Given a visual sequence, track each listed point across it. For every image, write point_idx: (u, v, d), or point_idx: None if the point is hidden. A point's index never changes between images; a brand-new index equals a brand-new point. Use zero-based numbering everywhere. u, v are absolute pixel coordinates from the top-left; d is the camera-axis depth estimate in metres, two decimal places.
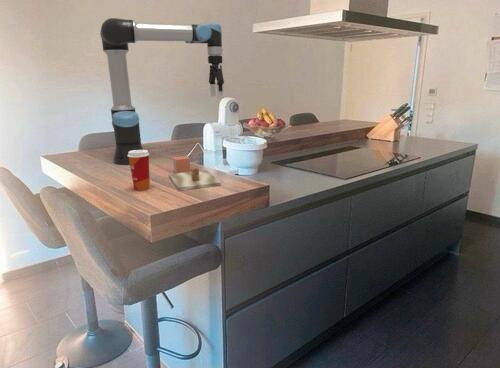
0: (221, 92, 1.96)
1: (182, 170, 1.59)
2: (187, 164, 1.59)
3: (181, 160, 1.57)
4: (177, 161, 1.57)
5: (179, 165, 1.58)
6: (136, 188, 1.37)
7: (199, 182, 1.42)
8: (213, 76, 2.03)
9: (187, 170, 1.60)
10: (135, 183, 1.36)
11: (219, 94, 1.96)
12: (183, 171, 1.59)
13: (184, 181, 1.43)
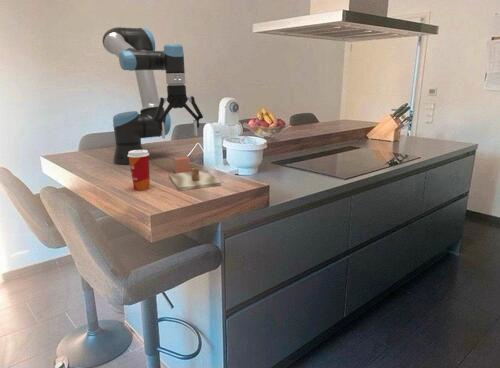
0: (162, 131, 1.53)
1: (182, 170, 1.59)
2: (187, 164, 1.59)
3: (181, 160, 1.57)
4: (177, 161, 1.57)
5: (179, 165, 1.58)
6: (136, 188, 1.37)
7: (199, 182, 1.42)
8: (187, 110, 1.56)
9: (187, 170, 1.60)
10: (135, 183, 1.36)
11: (162, 133, 1.55)
12: (183, 171, 1.59)
13: (184, 181, 1.43)
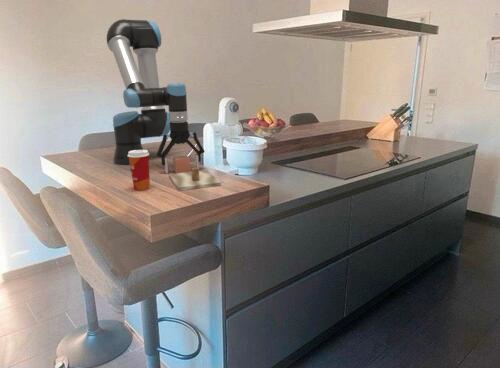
0: (165, 166, 1.58)
1: (182, 170, 1.59)
2: (187, 164, 1.59)
3: (181, 160, 1.57)
4: (177, 161, 1.57)
5: (179, 165, 1.58)
6: (136, 188, 1.37)
7: (199, 182, 1.42)
8: (189, 145, 1.60)
9: (187, 170, 1.60)
10: (135, 183, 1.36)
11: (165, 168, 1.59)
12: (183, 171, 1.59)
13: (184, 181, 1.43)
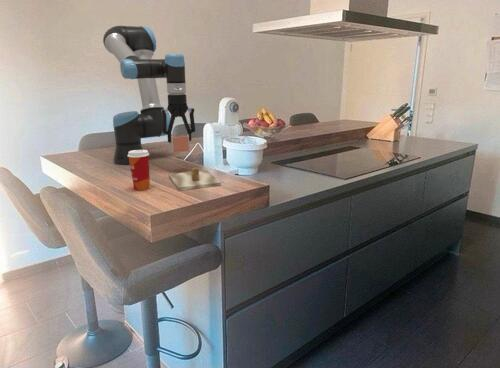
0: (171, 144, 1.57)
1: (180, 149, 1.56)
2: (185, 142, 1.56)
3: (179, 138, 1.55)
4: (175, 139, 1.54)
5: (177, 143, 1.55)
6: (136, 188, 1.37)
7: (199, 182, 1.42)
8: (183, 121, 1.57)
9: (185, 149, 1.57)
10: (135, 183, 1.36)
11: (171, 145, 1.58)
12: (181, 150, 1.57)
13: (184, 181, 1.43)
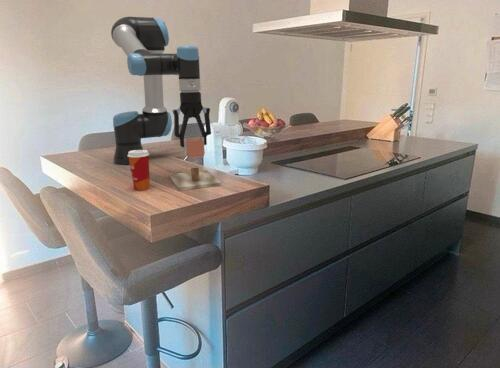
0: (184, 148, 1.38)
1: (194, 153, 1.38)
2: (200, 146, 1.38)
3: (193, 142, 1.36)
4: (189, 143, 1.36)
5: (191, 147, 1.37)
6: (136, 188, 1.37)
7: (199, 182, 1.42)
8: (197, 122, 1.39)
9: (200, 153, 1.39)
10: (135, 183, 1.36)
11: (183, 150, 1.40)
12: (196, 155, 1.38)
13: (184, 181, 1.43)
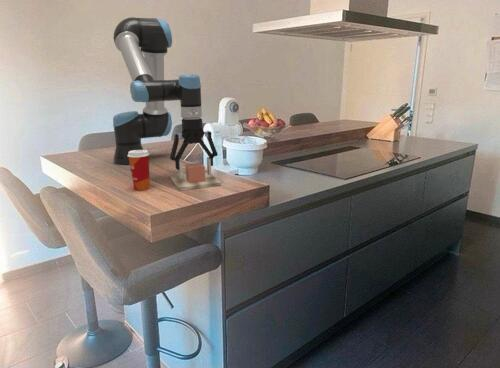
0: (179, 171, 1.40)
1: (196, 179, 1.41)
2: (201, 172, 1.41)
3: (195, 168, 1.39)
4: (190, 169, 1.39)
5: (193, 173, 1.40)
6: (136, 188, 1.37)
7: (199, 182, 1.42)
8: (202, 146, 1.42)
9: (201, 179, 1.42)
10: (135, 183, 1.36)
11: (179, 173, 1.41)
12: (197, 180, 1.41)
13: (184, 181, 1.43)
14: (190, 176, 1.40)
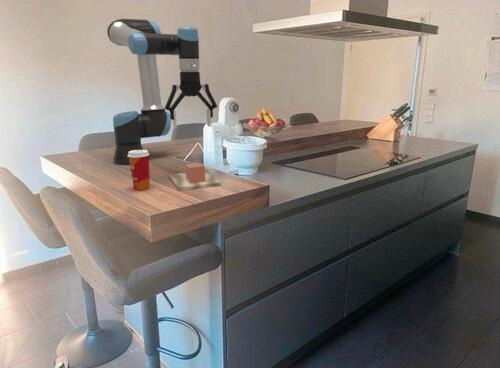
0: (174, 121, 1.44)
1: (196, 179, 1.41)
2: (201, 172, 1.41)
3: (195, 168, 1.39)
4: (190, 169, 1.39)
5: (193, 173, 1.40)
6: (136, 188, 1.37)
7: (199, 182, 1.42)
8: (201, 99, 1.46)
9: (201, 179, 1.42)
10: (135, 183, 1.36)
11: (173, 123, 1.46)
12: (197, 180, 1.41)
13: (184, 181, 1.43)
14: (190, 176, 1.40)
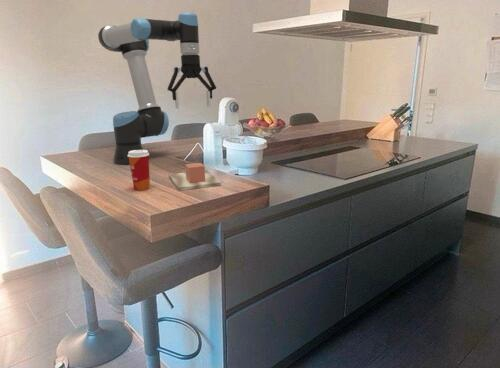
0: (176, 101, 1.54)
1: (196, 179, 1.41)
2: (201, 172, 1.41)
3: (195, 168, 1.39)
4: (190, 169, 1.39)
5: (193, 173, 1.40)
6: (136, 188, 1.37)
7: (199, 182, 1.42)
8: (201, 81, 1.57)
9: (201, 179, 1.42)
10: (135, 183, 1.36)
11: None
12: (197, 180, 1.41)
13: (184, 181, 1.43)
14: (190, 176, 1.40)
